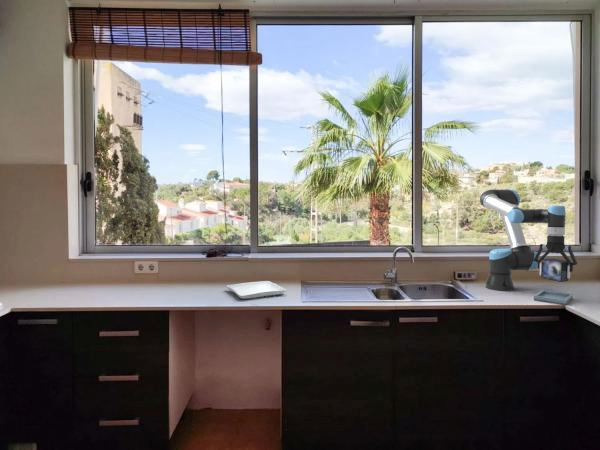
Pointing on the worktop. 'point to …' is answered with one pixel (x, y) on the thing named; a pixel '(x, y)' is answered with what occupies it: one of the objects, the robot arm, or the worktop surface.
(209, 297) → the worktop surface
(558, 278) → the small box
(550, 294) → the tray
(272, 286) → the square plate
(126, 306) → the worktop surface
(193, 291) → the worktop surface
